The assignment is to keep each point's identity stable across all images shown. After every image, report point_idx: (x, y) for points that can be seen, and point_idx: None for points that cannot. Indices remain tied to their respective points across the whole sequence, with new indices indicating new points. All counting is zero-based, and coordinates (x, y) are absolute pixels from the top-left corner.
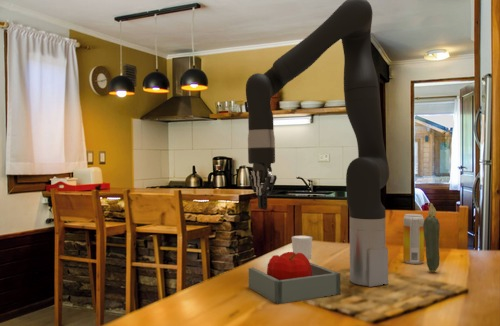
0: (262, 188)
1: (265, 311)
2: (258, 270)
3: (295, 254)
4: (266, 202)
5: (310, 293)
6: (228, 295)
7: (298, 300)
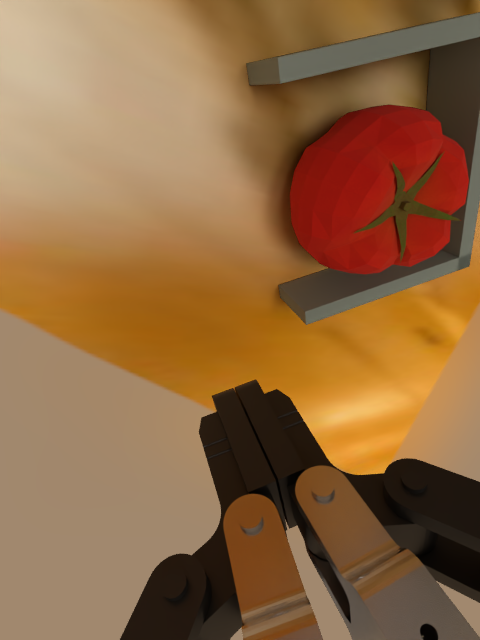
0: (252, 598)
1: (449, 279)
2: (345, 298)
3: (392, 169)
4: (300, 419)
5: None
6: (325, 346)
7: None
